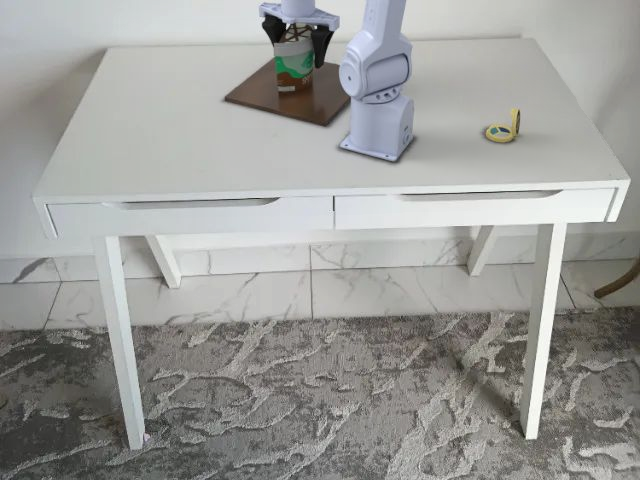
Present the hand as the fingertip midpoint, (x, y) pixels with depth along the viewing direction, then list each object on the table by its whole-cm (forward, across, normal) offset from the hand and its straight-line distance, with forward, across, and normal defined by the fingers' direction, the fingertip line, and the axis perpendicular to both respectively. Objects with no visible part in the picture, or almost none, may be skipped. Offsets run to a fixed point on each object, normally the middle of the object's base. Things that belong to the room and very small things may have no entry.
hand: (300, 62), depth 116 cm
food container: (+4, 0, 0) cm, 5 cm away
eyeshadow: (+5, +37, 0) cm, 37 cm away
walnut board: (+5, 0, 0) cm, 5 cm away
